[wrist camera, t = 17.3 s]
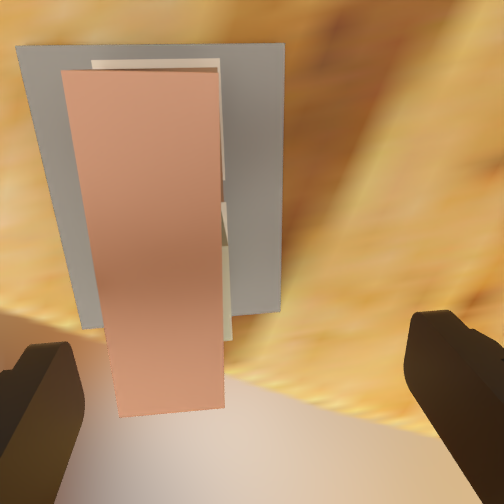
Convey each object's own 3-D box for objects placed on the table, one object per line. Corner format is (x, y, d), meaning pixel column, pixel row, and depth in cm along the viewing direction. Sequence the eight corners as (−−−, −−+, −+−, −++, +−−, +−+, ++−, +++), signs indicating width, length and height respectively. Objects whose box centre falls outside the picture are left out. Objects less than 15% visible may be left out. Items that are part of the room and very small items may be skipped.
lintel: (218, 344, 19) (224, 407, 16) (133, 350, 19) (119, 417, 15) (212, 72, 14) (218, 72, 11) (95, 69, 14) (60, 70, 10)
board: (280, 44, 20) (285, 42, 19) (276, 301, 26) (280, 312, 25) (25, 47, 18) (14, 45, 17) (87, 318, 25) (82, 330, 24)
